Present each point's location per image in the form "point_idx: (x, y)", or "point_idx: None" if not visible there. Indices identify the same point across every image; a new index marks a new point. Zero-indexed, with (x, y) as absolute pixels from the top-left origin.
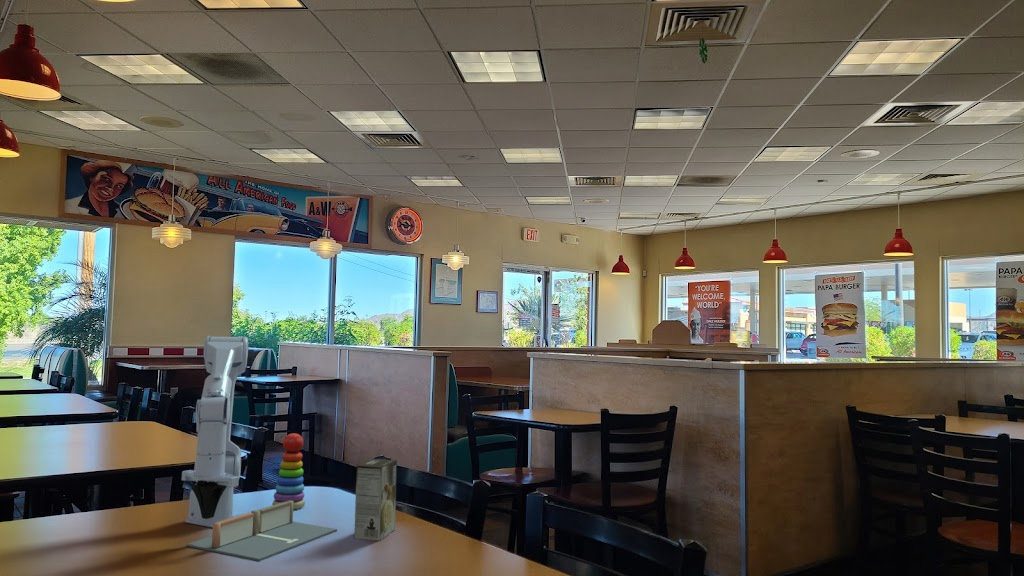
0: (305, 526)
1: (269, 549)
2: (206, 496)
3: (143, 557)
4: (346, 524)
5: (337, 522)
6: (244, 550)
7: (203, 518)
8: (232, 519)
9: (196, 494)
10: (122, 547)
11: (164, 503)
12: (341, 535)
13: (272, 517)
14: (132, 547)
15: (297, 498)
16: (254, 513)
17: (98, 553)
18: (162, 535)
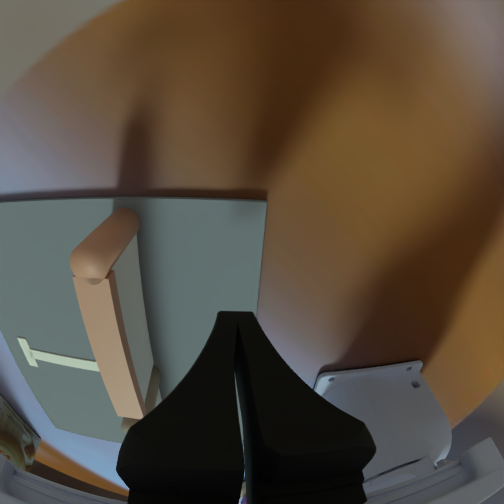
0: (113, 434)
1: (3, 281)
2: (179, 399)
3: (307, 28)
4: (84, 451)
5: (107, 457)
6: (32, 242)
7: (240, 311)
8: (96, 342)
9: (306, 401)
10: (451, 109)
11: (490, 391)
12: (28, 406)
13: None
14: (428, 117)
15: (242, 500)
16: (126, 419)
17: (459, 43)
18: (424, 259)
